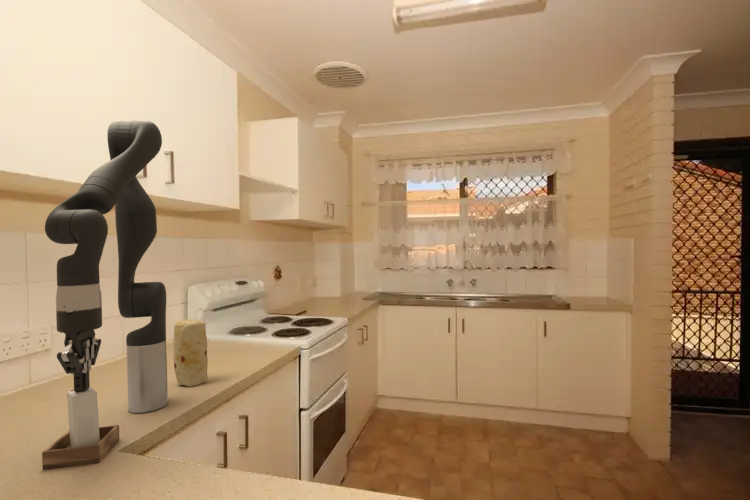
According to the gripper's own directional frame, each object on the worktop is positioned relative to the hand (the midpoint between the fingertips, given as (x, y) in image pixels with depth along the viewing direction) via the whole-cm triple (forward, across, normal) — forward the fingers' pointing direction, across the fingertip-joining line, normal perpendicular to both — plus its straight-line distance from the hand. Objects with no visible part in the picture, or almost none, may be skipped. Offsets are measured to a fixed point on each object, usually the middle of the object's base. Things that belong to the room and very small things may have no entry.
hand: (81, 390), depth 82 cm
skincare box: (+12, 0, 0) cm, 12 cm away
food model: (+13, -40, +12) cm, 44 cm away
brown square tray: (+13, 0, 0) cm, 13 cm away
